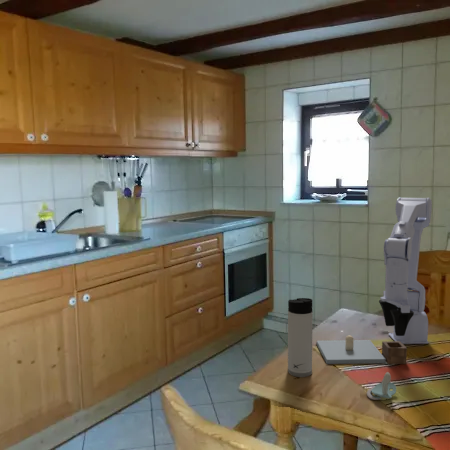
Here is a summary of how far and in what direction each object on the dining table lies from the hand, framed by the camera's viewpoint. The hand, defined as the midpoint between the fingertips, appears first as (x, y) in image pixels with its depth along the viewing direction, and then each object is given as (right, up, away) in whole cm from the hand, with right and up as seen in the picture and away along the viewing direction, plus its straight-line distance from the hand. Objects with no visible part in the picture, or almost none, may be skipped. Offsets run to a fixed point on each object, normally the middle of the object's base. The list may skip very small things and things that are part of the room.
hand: (394, 330), depth 127 cm
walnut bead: (0, -8, +1) cm, 9 cm away
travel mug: (-27, -10, -6) cm, 29 cm away
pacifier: (-10, -11, -18) cm, 24 cm away
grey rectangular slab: (-11, -8, +6) cm, 15 cm away
